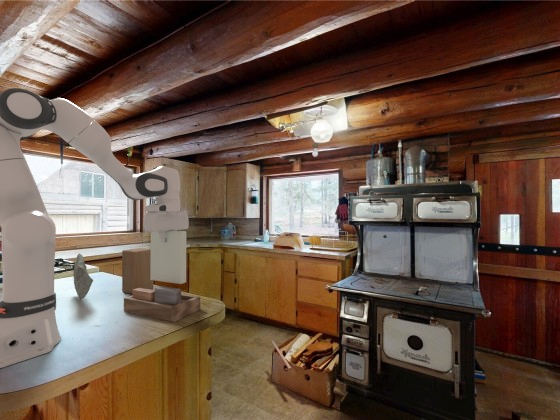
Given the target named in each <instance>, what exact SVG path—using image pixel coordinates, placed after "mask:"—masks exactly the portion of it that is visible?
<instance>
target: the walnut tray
mask: <svg viewBox="0 0 560 420" xmlns="http://www.w3.org/2000/svg"><path fill="white" fill-rule="evenodd" d="M151 290H155V288H153V289H151ZM200 310H201V296H199V295H192V294H185V293H181V303H180V304H177V305H175V306H174V305H169V304H163V303H158V302H152V301H146V300H141V299H135V298H132V295H129V296H126V297H124V298H123V311H124V312H127V313H132V314H137V315H141V316H145V317H150V318H155V319H160V320H165V321H169V322H174V323H175V322H177V321H180V320H181V319H183V317H184V318H185V316H186V317H188V316H190V315H191V313H192V314H194V313H196V312H197V311H200ZM189 314H190V315H189ZM187 315H188V316H187Z"/></svg>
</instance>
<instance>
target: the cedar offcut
mask: <svg viewBox="0 0 560 420" xmlns="http://www.w3.org/2000/svg"><path fill="white" fill-rule="evenodd" d="M131 296H132V298H135V299H141V300H146V301H152V302H155V290H150V289H143V288H137V289H133V290H132V295H131Z"/></svg>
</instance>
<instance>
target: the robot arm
mask: <svg viewBox="0 0 560 420" xmlns="http://www.w3.org/2000/svg"><path fill="white" fill-rule="evenodd" d="M42 130H44V131H48V132H51V133H53V134H55V135H57V136H59V137H60V138H61V139H62V140H64V141H65V142H66V143H68V144H69V146H71V147H72V148H74V149H75V150H76V151H78V152H79V153H80V154H82V155H83V156H85V157H86V158H87V159H89V160H90V161H91V162H93V163H94V164H96V165H97V166H98V167H99V168H100V169H101V170H102V171H104V173H106V175H108V176H109V177H110V178H111V179H112V180H114V181H115V182H116V183H117V184H118V186H119V187H120V189H121V191H122V193H123V194H124V195H125V197H127V198H129V199H130V200H132V201H140V200H145V199H146V200H147V199H152V198H156V202H153V203H152V204H148V205H146V206H144V211H145V214H144V218H143V230H144V231H145V232H147V233H148V232H149V233H151V232H156V231H158V234H159V236H160V238H161V243H164V242H167V238H165V236H164V234H165V231H181V230H188V229H189V227H190V223H189V215H188V210H187V209H186V207H181V198H180V192H181V179H180V173H179V170H177V169H176V168H175V167H173V166H172V167H171V166H168V165H167V166H166V165H160V166H158V167H157V168H155V169H152V170H150V171H146V172H142V173H138V174H137V173H133V172H132V171H130V170H129V169H128V168H127V167H126V166H125V165H124V164H123V163H121V161H120V160H119V159H117V158H116V156H115V155H114V154H113V150H112V138H111V136H110V135H109V133H108V132H107V131H106V129H105V128H104V127H102V125H101V124H99V123H98V121H96V120H95V118H93V117H92V116H91V115H89V114H88V113H87V112H86V111H84V110H83V109H81V108H80V107H79V106H77V105H76V104H74V103H73V102H72V101H70V100H68V99H65V98H61V97H57V98H53V99H49V98H47V97H45V96H43V95H39V94H37V93H35V92H33V91H30V90H29V89H24V88H19V87H12V88H8V89H5V90H3V91H1V92H0V227H1V230H0V233H1V234H0V235H1V237H0V238H1V266H2V300H0V369H2V368H5V367H9V366H12V365H14V364H18V363H20V362H24V361H26V360H30V359H33V358H35V357H38V356H41V355H44V354H45V355H46V354H47V353H50V352H51V351H53V348H54V347H55V346H56V345H57V344H58V343H60V342H61V340H62V336H61V335H60V331H59V329H58V324H57V319H56V317H57V316H56V309H57V293H56V292H55V259H56V237H57V232H56V231H57V230H56V229H57V228H56V223H55V222H54V220H53V219H52V218H51V217H50V216H49V213H48V211H47V209H46V206H45V203H44V200H43V198H42V196H41V193H40V190H39V187H38V186H37V185H38V184H37V183H36V180H35V178H34V176H33V174H32V171H31V169H30V167H29V164H28V162H27V160H26V158H25V156H24V153H23V151H22V147H21V144H20V143H21V142H20V141H23V140H27V139H29V138H32V137H33V136H34V135H36V134H37V133H39V132H40V131H42Z"/></svg>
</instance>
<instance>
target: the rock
mask: <svg viewBox="0 0 560 420" xmlns="http://www.w3.org/2000/svg"><path fill="white" fill-rule="evenodd" d="M93 282H94V279H93V278H92V277H91V276H90V274H89V273H88V270H87V265H86V263H85V258H84V256H83V255H82V254H81V253H78V254H77V255H76V259H75V263H74V266H73V285H74V289H75V291H76V294H77V297H78V298H79V300H80V301H81V300H82V299H84V298H85V297H87V295H88V293H89V291H90V289H91V287H92V284H93Z"/></svg>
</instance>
